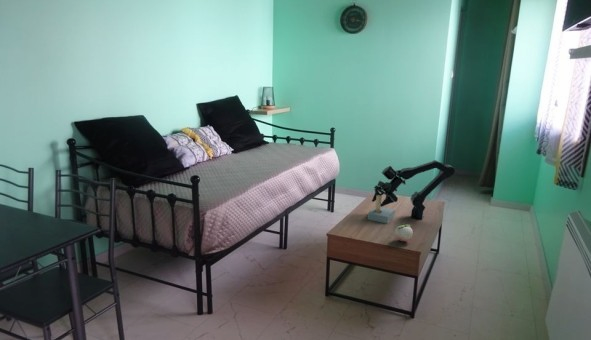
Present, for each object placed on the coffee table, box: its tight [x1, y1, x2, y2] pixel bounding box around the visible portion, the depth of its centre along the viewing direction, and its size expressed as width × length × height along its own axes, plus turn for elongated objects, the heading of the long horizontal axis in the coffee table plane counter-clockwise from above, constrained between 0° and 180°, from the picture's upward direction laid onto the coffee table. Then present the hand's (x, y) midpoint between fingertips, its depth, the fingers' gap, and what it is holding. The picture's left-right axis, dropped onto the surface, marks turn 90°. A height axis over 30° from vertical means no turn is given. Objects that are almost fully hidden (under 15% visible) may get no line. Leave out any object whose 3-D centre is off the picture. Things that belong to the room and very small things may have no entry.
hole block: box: [367, 206, 396, 224], centre depth 246 cm, size 12×16×4 cm
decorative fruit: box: [394, 224, 414, 242], centre depth 211 cm, size 9×8×10 cm
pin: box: [374, 195, 383, 213], centre depth 244 cm, size 3×3×14 cm
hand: (376, 203), depth 243 cm, fingers open, 9 cm apart
